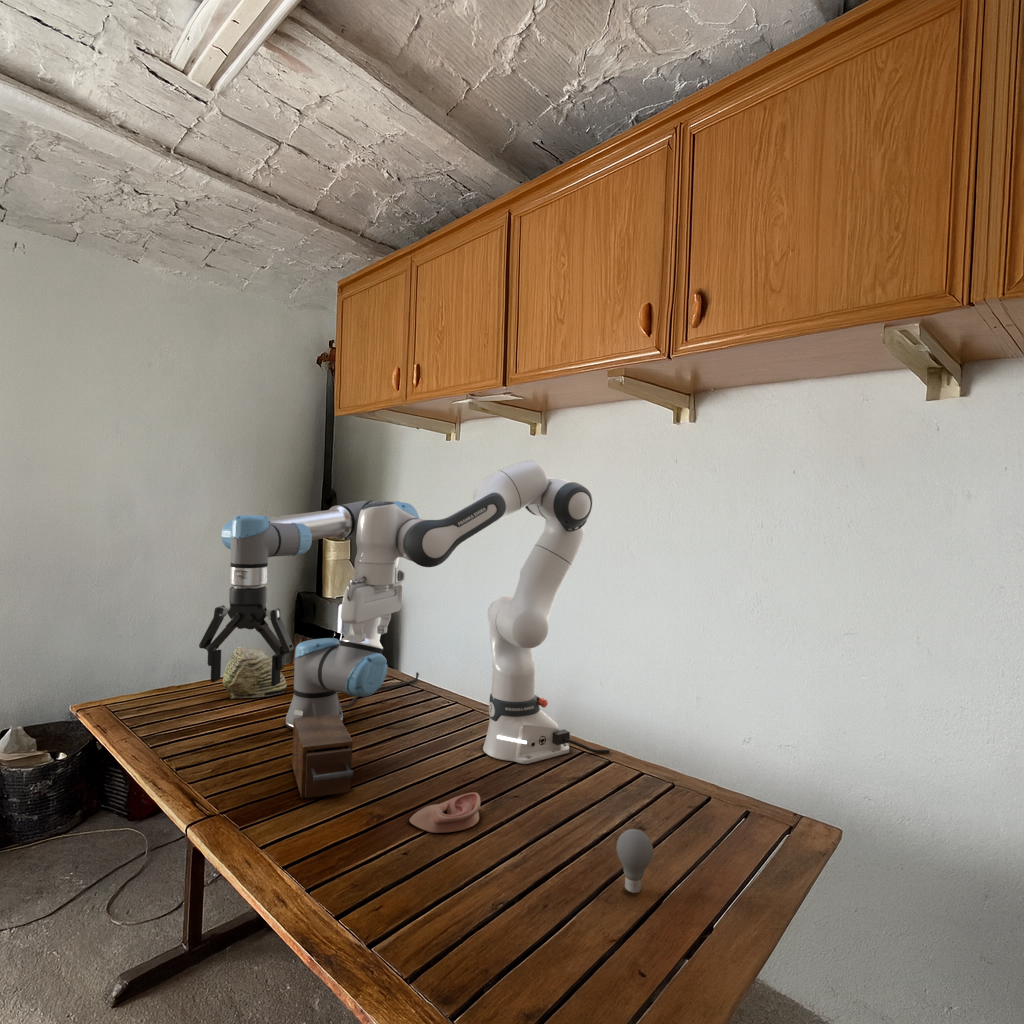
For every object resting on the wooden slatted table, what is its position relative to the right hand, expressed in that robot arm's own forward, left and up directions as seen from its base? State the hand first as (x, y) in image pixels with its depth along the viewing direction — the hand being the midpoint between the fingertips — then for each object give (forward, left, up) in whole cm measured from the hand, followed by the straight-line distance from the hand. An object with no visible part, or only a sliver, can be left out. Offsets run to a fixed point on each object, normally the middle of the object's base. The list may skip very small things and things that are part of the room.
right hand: (371, 637), depth 140 cm
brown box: (+9, -7, -33) cm, 35 cm away
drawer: (+9, -1, -32) cm, 33 cm away
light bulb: (-33, +54, -33) cm, 71 cm away
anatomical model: (-11, +21, -33) cm, 40 cm away
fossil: (+19, -73, -33) cm, 82 cm away
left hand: (+25, -10, -11) cm, 29 cm away
